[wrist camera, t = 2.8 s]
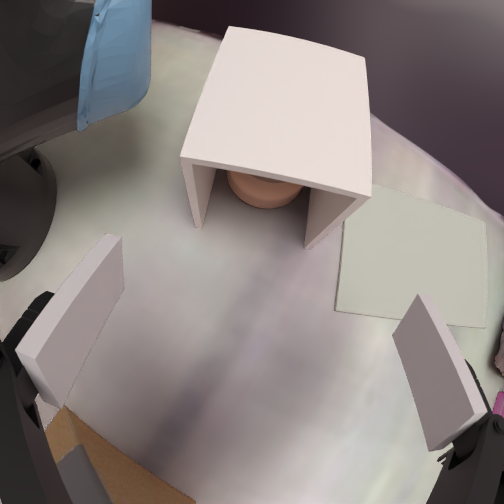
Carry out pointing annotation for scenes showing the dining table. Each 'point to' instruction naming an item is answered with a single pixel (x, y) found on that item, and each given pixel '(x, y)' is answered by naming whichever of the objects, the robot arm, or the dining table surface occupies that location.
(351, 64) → the cover
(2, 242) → the robot arm
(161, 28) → the dining table surface
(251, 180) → the bowl
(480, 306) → the mat
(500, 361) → the food item
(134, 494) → the sandwich container
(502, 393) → the gum box
